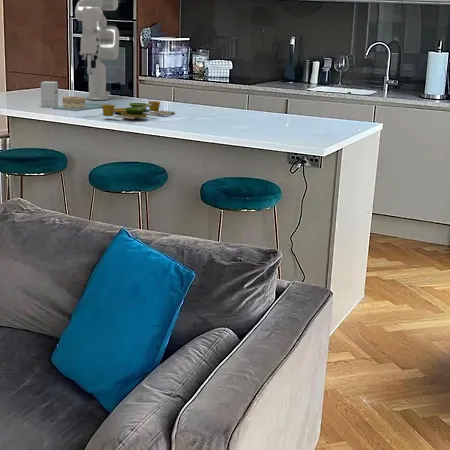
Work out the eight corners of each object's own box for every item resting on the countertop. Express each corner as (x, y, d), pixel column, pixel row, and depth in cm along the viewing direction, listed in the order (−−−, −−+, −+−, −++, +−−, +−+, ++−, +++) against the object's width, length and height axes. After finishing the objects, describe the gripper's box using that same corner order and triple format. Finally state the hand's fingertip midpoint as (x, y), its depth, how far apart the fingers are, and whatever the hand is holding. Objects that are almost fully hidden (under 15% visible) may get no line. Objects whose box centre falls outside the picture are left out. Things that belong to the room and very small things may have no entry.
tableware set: (132, 120, 344) (132, 106, 342) (85, 115, 356) (85, 101, 354) (178, 112, 379) (178, 100, 377) (134, 108, 391) (134, 96, 390)
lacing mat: (88, 104, 398) (88, 103, 398) (111, 106, 392) (111, 105, 392) (52, 108, 372) (52, 107, 372) (76, 110, 366) (76, 109, 366)
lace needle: (89, 73, 386) (89, 50, 383) (95, 74, 385) (94, 50, 382) (86, 74, 383) (85, 50, 380) (91, 74, 382) (90, 50, 379)
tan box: (72, 105, 383) (72, 96, 382) (89, 107, 378) (89, 97, 377) (58, 107, 373) (58, 97, 372) (75, 109, 369) (75, 99, 367)
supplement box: (55, 107, 378) (54, 82, 375) (40, 107, 378) (40, 82, 375) (58, 106, 385) (58, 81, 382) (44, 105, 385) (43, 81, 382)
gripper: (107, 32, 378) (107, 68, 383) (81, 31, 385) (82, 66, 390) (98, 32, 372) (98, 69, 376) (72, 30, 379) (73, 67, 384)
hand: (90, 67), depth 383 cm, fingers closed on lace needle, 3 cm apart
